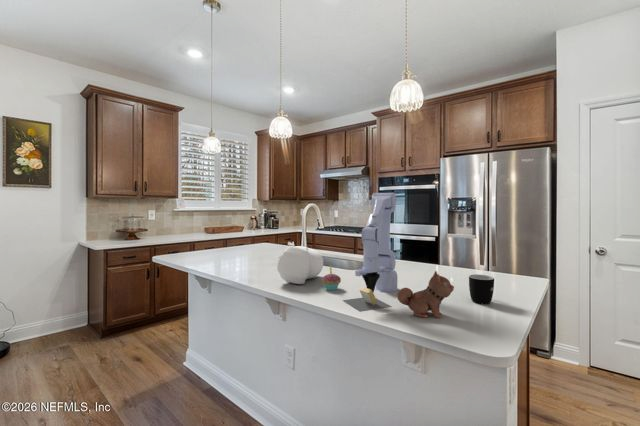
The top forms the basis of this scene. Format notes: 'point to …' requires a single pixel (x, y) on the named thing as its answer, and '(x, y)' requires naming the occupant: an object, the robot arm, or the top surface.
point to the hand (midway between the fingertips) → (370, 292)
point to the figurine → (427, 296)
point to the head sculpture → (299, 264)
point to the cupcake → (331, 280)
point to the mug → (481, 288)
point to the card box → (368, 295)
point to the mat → (365, 304)
